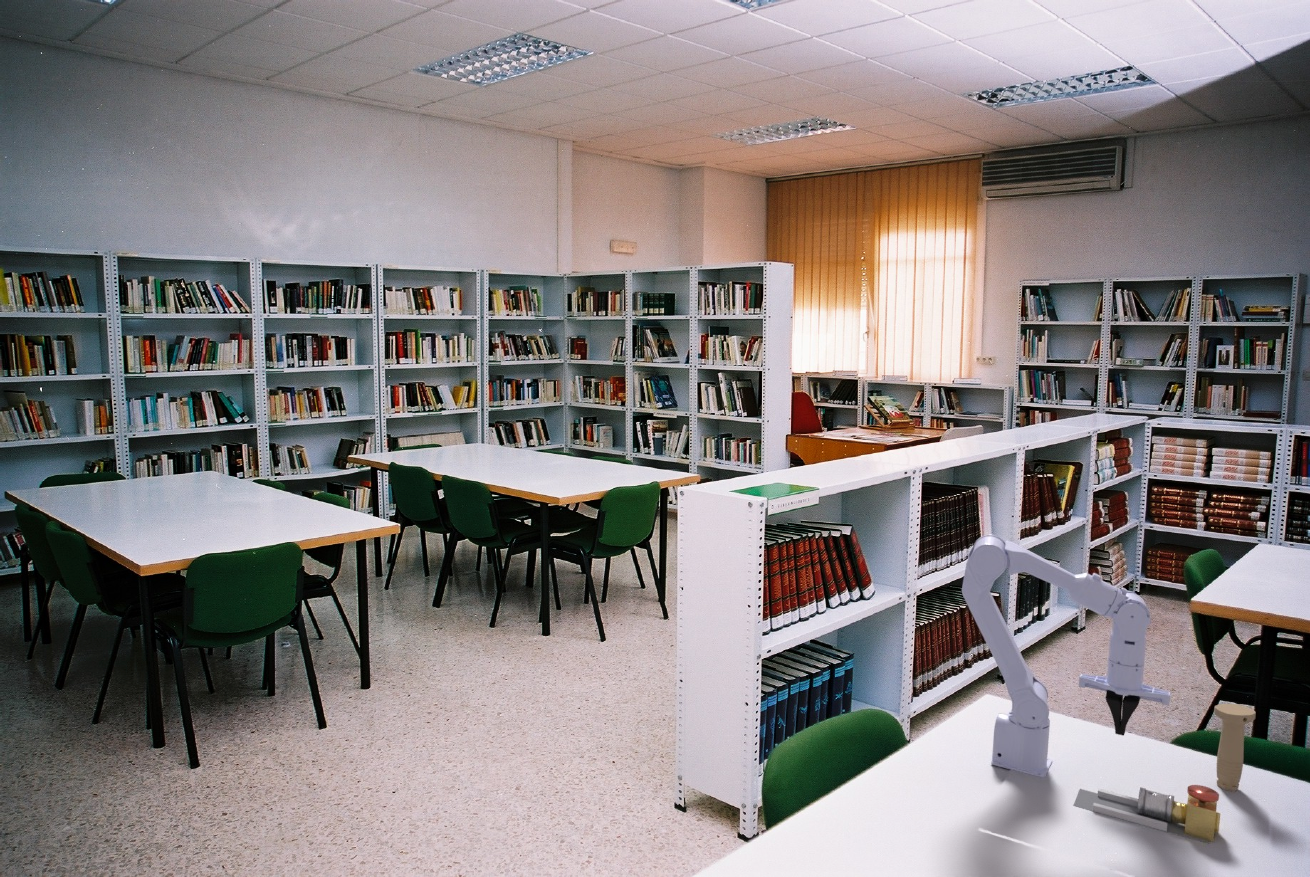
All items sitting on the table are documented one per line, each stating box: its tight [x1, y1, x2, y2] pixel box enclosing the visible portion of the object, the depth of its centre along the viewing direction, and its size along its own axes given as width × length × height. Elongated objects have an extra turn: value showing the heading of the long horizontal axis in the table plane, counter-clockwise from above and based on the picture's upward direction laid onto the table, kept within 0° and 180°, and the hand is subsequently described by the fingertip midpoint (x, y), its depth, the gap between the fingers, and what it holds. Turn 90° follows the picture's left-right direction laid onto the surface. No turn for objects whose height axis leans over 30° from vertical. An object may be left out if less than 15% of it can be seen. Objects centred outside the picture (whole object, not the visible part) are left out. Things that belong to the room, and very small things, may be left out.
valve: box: [1172, 784, 1221, 843], centre depth 146 cm, size 7×5×7 cm
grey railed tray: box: [1073, 788, 1211, 845], centre depth 151 cm, size 20×7×1 cm, turn 56°
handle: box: [1213, 703, 1256, 792], centre depth 160 cm, size 5×6×15 cm
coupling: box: [1137, 787, 1175, 823], centre depth 150 cm, size 5×4×4 cm
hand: (1120, 732), depth 162 cm, fingers closed
